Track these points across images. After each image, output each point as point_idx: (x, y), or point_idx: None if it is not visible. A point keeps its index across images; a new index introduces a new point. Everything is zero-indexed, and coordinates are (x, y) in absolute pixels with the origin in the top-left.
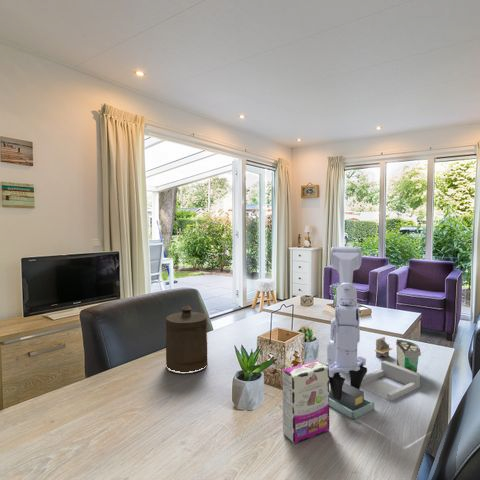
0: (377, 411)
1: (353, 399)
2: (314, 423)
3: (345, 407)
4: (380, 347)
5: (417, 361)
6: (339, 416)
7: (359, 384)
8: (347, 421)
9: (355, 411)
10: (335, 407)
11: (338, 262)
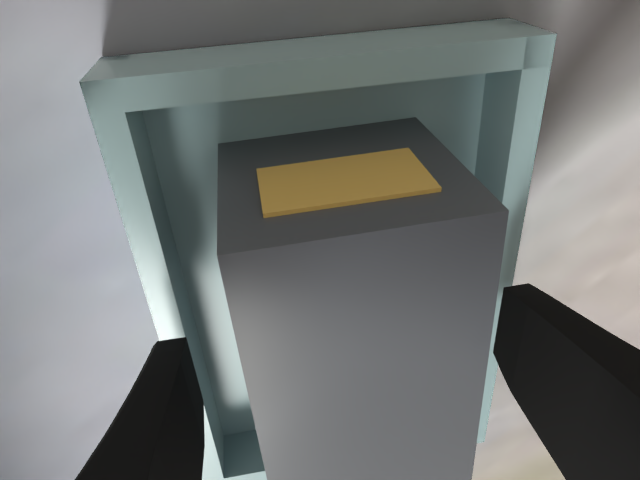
0: (82, 7)
1: (482, 187)
2: None
3: (517, 178)
4: None
5: None
6: (555, 145)
7: (151, 424)
8: (580, 32)
9: (508, 48)
10: None
11: None
